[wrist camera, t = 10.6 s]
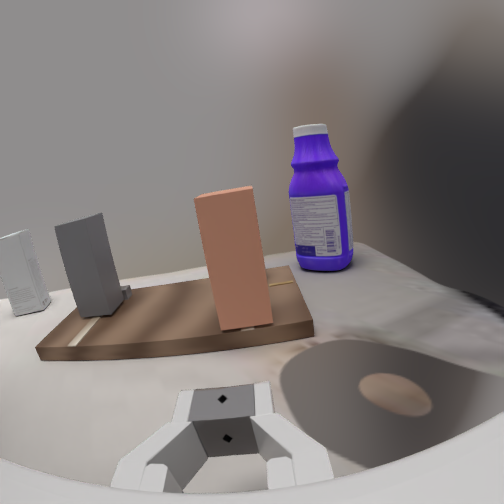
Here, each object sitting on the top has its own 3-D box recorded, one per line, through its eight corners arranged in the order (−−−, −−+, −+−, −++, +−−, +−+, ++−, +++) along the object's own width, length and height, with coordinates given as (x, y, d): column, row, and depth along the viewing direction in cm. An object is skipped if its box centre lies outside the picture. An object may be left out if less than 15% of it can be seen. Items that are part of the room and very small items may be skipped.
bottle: (359, 259, 39) (344, 123, 35) (346, 275, 35) (328, 119, 30) (309, 257, 43) (292, 131, 39) (291, 272, 39) (270, 130, 34)
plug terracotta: (221, 330, 23) (193, 198, 21) (224, 308, 27) (201, 194, 25) (273, 322, 23) (252, 188, 21) (269, 301, 27) (251, 185, 25)
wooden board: (40, 360, 24) (30, 336, 23) (93, 305, 38) (87, 286, 37) (314, 336, 24) (311, 305, 23) (290, 277, 37) (287, 255, 36)
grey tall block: (80, 317, 29) (54, 226, 27) (95, 302, 33) (72, 219, 31) (111, 314, 29) (84, 218, 27) (124, 299, 33) (102, 212, 30)
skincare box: (52, 301, 42) (31, 227, 39) (43, 311, 37) (19, 231, 34) (23, 307, 40) (2, 236, 37) (13, 318, 36) (-11, 241, 33)
